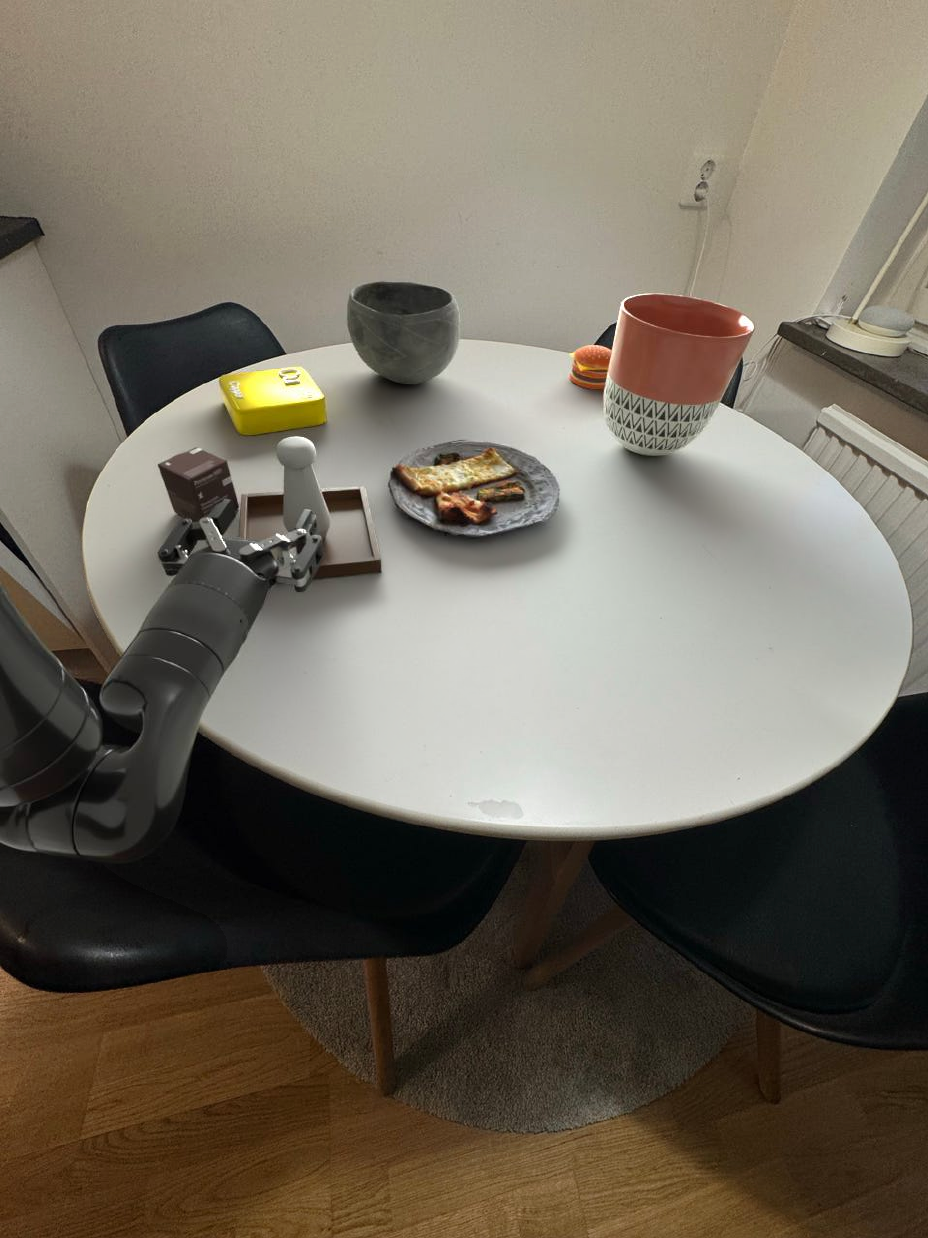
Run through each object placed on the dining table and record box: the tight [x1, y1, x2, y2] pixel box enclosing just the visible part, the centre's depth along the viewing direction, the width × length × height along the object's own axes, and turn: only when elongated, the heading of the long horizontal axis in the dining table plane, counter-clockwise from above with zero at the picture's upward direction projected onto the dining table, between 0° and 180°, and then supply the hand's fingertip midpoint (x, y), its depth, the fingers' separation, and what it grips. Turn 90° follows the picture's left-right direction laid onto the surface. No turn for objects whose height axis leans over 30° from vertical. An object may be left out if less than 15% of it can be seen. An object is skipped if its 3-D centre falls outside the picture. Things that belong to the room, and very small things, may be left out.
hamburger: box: [569, 344, 612, 390], centre depth 113 cm, size 9×10×7 cm
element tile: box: [218, 366, 328, 436], centre depth 93 cm, size 15×15×5 cm
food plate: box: [387, 439, 561, 539], centre depth 80 cm, size 25×23×4 cm
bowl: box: [346, 280, 461, 385], centre depth 104 cm, size 21×21×15 cm
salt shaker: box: [276, 436, 330, 539], centre depth 66 cm, size 6×6×13 cm
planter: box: [602, 293, 756, 457], centre depth 88 cm, size 20×20×21 cm
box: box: [157, 447, 240, 522], centre depth 71 cm, size 6×6×7 cm
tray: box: [238, 485, 382, 584], centre depth 71 cm, size 17×17×2 cm
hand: (270, 511), depth 58 cm, fingers open, 8 cm apart
